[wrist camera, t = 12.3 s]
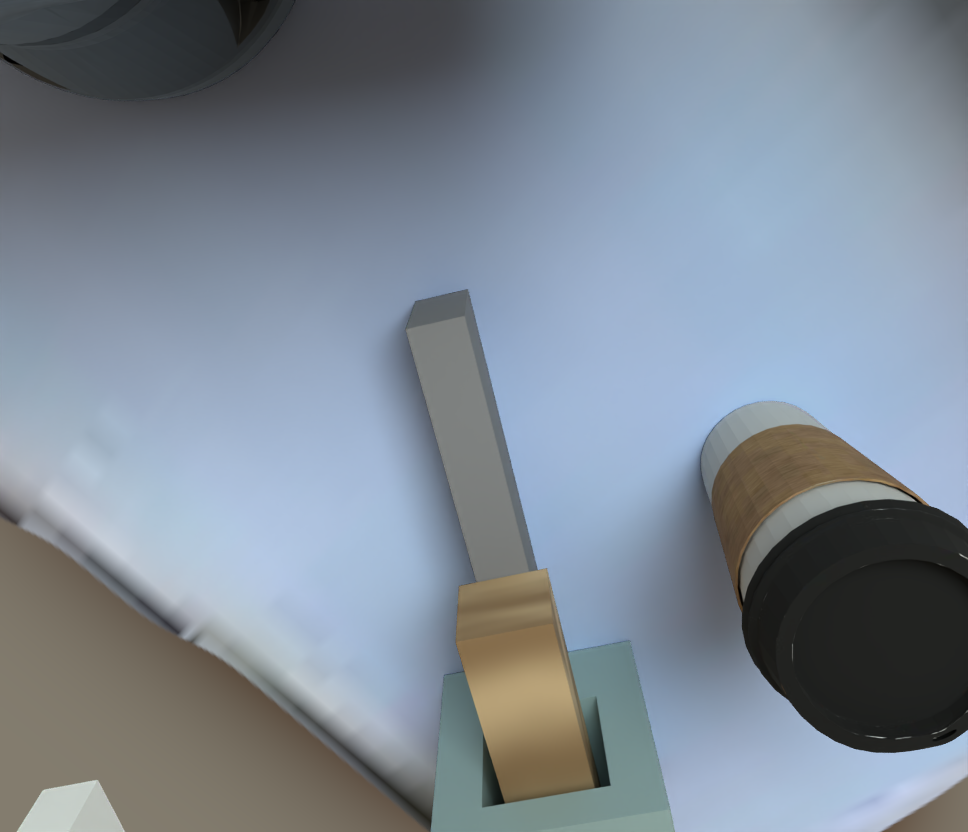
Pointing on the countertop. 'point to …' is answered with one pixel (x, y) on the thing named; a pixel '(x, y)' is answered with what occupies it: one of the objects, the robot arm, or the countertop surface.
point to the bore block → (571, 816)
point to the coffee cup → (841, 581)
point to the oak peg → (524, 687)
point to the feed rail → (470, 435)
